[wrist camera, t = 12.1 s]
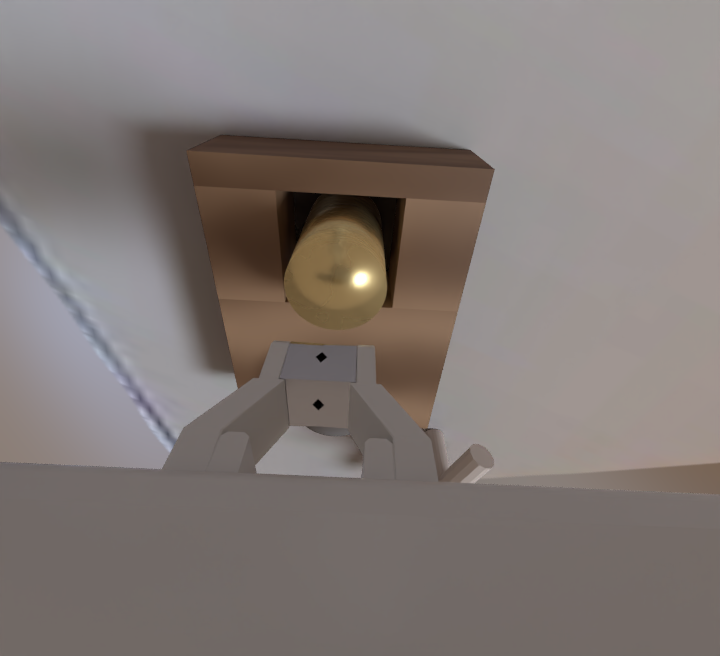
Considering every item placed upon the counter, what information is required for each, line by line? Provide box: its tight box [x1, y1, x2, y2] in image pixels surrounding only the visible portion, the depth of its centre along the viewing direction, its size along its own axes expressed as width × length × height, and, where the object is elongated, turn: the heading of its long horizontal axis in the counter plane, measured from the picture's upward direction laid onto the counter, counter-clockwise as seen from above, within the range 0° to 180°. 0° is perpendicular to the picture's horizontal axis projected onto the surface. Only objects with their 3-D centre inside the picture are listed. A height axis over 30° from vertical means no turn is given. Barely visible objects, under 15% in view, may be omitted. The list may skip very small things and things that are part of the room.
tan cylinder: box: [284, 193, 387, 330], centre depth 17 cm, size 4×4×7 cm
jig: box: [186, 135, 495, 436], centre depth 19 cm, size 16×12×6 cm
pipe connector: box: [425, 429, 494, 483], centre depth 26 cm, size 10×10×10 cm
